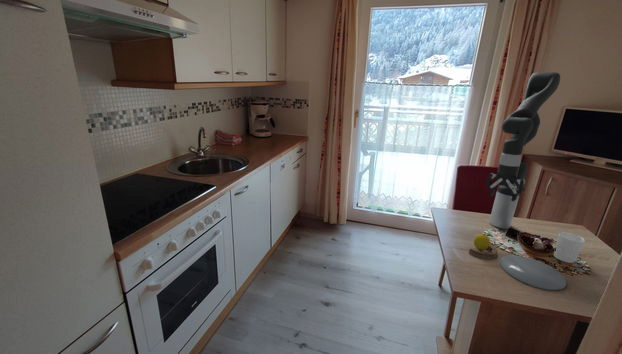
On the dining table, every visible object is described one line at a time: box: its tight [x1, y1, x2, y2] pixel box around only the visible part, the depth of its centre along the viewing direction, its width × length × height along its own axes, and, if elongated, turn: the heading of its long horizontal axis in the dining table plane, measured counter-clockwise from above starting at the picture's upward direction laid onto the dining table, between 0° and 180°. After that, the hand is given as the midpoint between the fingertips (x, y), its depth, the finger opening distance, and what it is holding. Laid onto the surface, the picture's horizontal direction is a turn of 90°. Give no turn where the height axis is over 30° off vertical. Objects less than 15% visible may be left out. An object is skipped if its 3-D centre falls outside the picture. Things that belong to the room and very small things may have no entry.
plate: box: [499, 254, 567, 291], centre depth 106 cm, size 20×20×1 cm
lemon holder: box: [468, 243, 498, 260], centre depth 118 cm, size 11×8×2 cm
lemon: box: [473, 233, 491, 252], centre depth 118 cm, size 6×6×8 cm
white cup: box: [553, 231, 586, 264], centre depth 115 cm, size 8×8×10 cm
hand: (502, 198), depth 128 cm, fingers open, 8 cm apart
